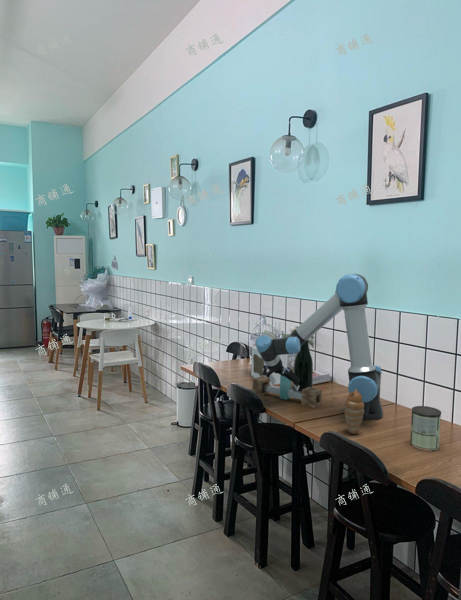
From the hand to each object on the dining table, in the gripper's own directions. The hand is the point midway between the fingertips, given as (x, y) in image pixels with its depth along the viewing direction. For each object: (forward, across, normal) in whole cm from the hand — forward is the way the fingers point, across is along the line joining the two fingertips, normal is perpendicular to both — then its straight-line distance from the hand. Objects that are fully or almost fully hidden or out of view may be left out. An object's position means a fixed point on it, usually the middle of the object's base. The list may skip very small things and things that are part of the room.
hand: (285, 385), depth 234 cm
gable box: (+23, -26, +13) cm, 37 cm away
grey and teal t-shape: (+3, +2, -5) cm, 6 cm away
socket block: (+4, -14, -6) cm, 15 cm away
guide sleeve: (+3, +15, -5) cm, 16 cm away
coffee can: (-10, +72, -17) cm, 74 cm away
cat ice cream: (-14, +46, -21) cm, 52 cm away
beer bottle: (+16, +1, +7) cm, 18 cm away
